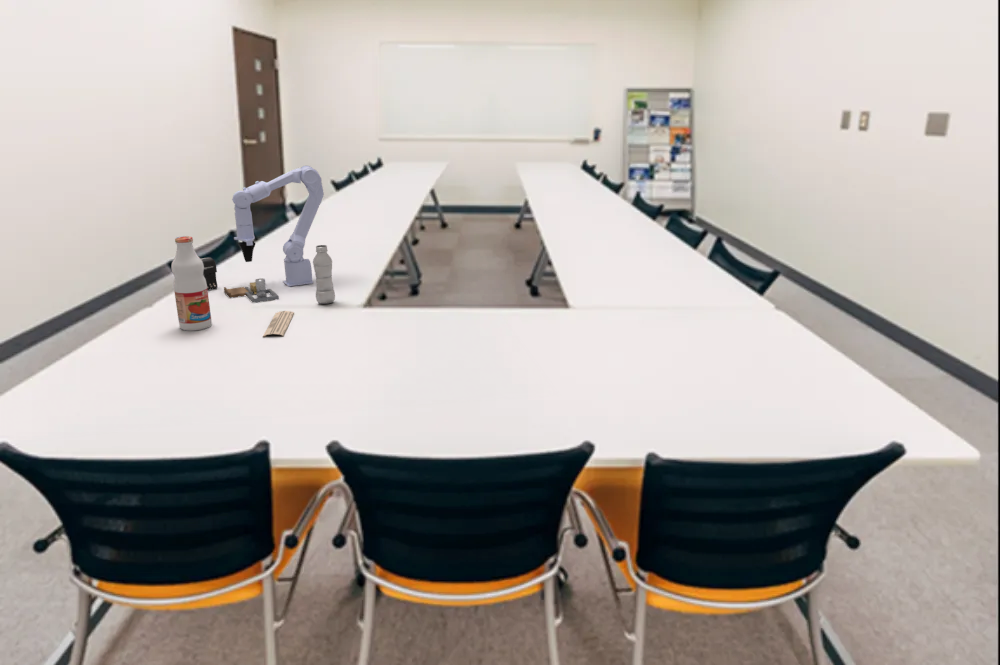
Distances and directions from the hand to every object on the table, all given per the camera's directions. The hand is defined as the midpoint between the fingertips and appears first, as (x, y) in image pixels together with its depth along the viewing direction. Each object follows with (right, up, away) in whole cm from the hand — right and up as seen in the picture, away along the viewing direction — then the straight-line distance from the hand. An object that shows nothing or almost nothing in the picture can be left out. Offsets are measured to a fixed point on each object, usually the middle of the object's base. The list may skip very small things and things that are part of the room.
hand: (248, 261), depth 270 cm
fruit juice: (-3, -24, -41) cm, 48 cm away
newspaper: (+23, -25, -39) cm, 51 cm away
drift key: (+4, -11, -3) cm, 13 cm away
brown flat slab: (-3, -12, -5) cm, 13 cm away
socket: (+6, -12, -6) cm, 15 cm away
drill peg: (+8, -14, -9) cm, 18 cm away
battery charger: (-15, -10, +1) cm, 18 cm away
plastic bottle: (+32, -16, -16) cm, 40 cm away
